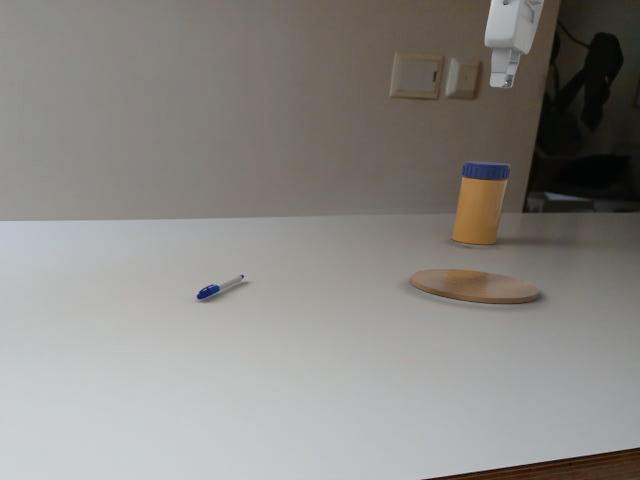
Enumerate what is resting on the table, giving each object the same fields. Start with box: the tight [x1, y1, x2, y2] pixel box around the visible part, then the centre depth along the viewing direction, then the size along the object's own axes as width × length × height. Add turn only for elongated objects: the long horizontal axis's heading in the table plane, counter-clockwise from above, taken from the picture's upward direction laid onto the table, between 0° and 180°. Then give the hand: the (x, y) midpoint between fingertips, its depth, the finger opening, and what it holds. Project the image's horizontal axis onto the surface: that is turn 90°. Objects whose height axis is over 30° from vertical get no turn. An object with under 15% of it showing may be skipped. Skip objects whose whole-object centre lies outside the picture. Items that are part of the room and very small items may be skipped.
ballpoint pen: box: [196, 274, 245, 300], centre depth 76 cm, size 10×1×1 cm, turn 152°
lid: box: [461, 160, 511, 180], centre depth 105 cm, size 6×6×2 cm
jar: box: [451, 175, 508, 246], centre depth 107 cm, size 6×6×11 cm
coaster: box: [410, 268, 540, 305], centre depth 81 cm, size 13×13×1 cm
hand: (500, 87), depth 101 cm, fingers open, 7 cm apart
